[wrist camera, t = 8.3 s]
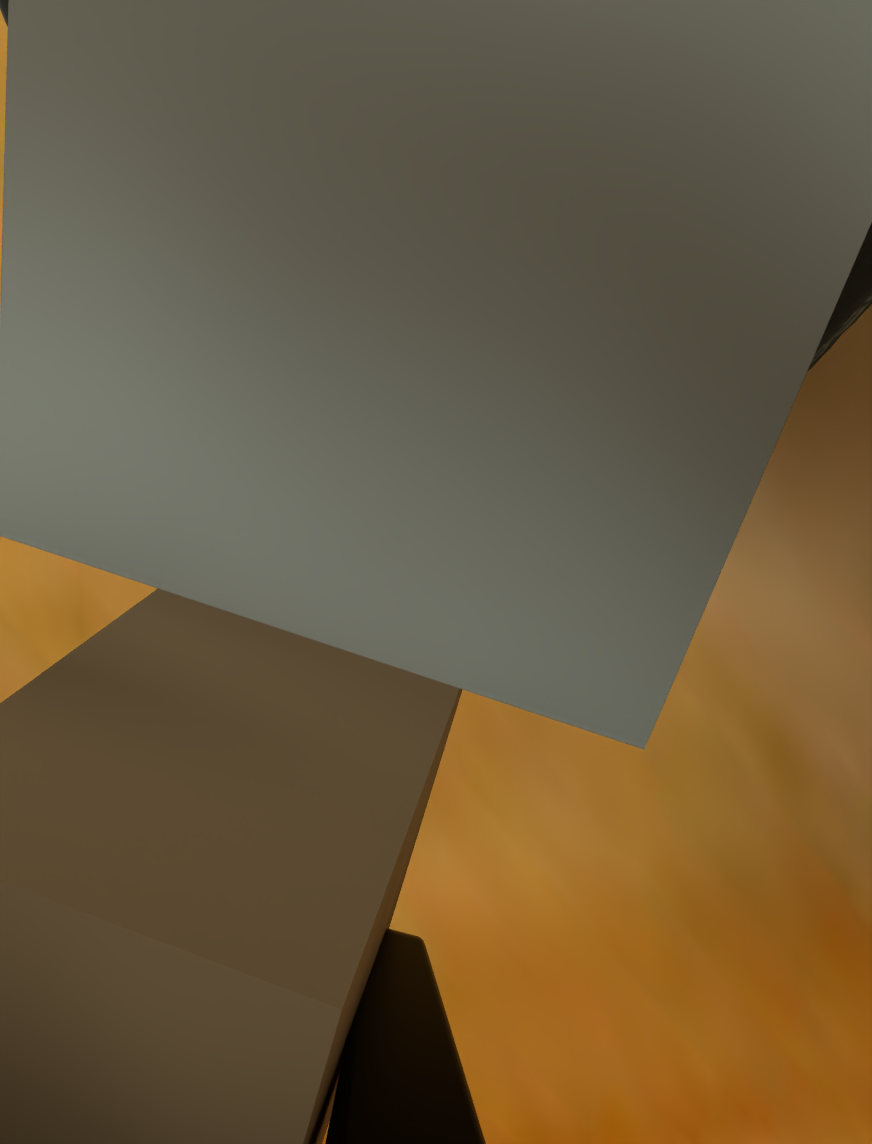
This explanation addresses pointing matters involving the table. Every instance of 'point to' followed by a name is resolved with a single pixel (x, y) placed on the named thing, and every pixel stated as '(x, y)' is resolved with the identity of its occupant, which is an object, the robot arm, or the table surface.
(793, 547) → the table surface
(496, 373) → the turner
